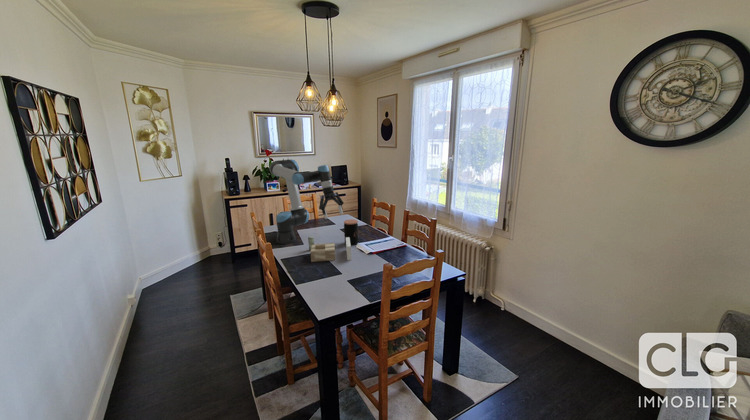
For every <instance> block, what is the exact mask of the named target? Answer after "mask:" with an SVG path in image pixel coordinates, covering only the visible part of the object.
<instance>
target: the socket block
mask: <svg viewBox="0 0 750 420" xmlns="http://www.w3.org/2000/svg"><path fill="white" fill-rule="evenodd" d="M309 252H310V261H311V263H313V262H327V261H335V260H336V245H335V242H329V243H314V244H312V247H311V251H309Z"/></svg>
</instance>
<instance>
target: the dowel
mask: <svg viewBox="0 0 750 420" xmlns="http://www.w3.org/2000/svg"><path fill="white" fill-rule="evenodd" d="M307 240H308V241H307V242H308V251H309V252H311V247H312V244H315V237H314V236H308V237H307Z"/></svg>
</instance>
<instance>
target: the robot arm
mask: <svg viewBox="0 0 750 420" xmlns="http://www.w3.org/2000/svg"><path fill="white" fill-rule="evenodd" d="M269 172H270V173H271V175H273V176H274V177H278V178H279V177H281V178H283V179H284V180H285V184H286V187H287V192H288V193H287V194H288V197H289V203H290V206H291V208H290V210H286V211H281V212H280V213H278V214H276V216H275V219H276V220H275V221H276V228H277V236H276V243H277V244H279V245H287V244H292V243H294V242H296V240H297V237H296V234H295V232H294V229H293V227H296V226H297V227H298V226H301V225H304V224H306V223H308V221H309V220H310V213H309V211H308V209H306V208H305V206H303V203H302V198H301V194H300V190H299V185H305V184H309V183H317V182H320V185H321V188H322V193H323V194H322V195H319V197H320V201H319V207H318V209H319V210H321V211H322V214H323V216H324V219H325V220H327V219H328V218H329V217H328V213H327V209H326V207H327V204H328V202H330V201H331V200H332V201H334V202H335V203H336V204H337V205H338V206H337V207H338V211H339V215H344V211H343V210H344V209H343V204H344V200H342V198H341V196H340V195H339V193H338V192H335V191H334V187H333V182H332V181H333V180H332V177H331V172H330V168H329V165H327V164H323V165H319V166H317V170H314V171H306V172H300V167H299V164H298V162H297V161H296V159H295V160H294V159H290V158H289V159H282V160H280V159H279V160H274V161H273V162H271V164H269Z"/></svg>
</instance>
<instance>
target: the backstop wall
mask: <svg viewBox="0 0 750 420" xmlns="http://www.w3.org/2000/svg"><path fill="white" fill-rule="evenodd" d="M345 249H346V250H345V251H346V252H345V253H346V260H347V261H352V245H351V244H350V237H346V244H345Z"/></svg>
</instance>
